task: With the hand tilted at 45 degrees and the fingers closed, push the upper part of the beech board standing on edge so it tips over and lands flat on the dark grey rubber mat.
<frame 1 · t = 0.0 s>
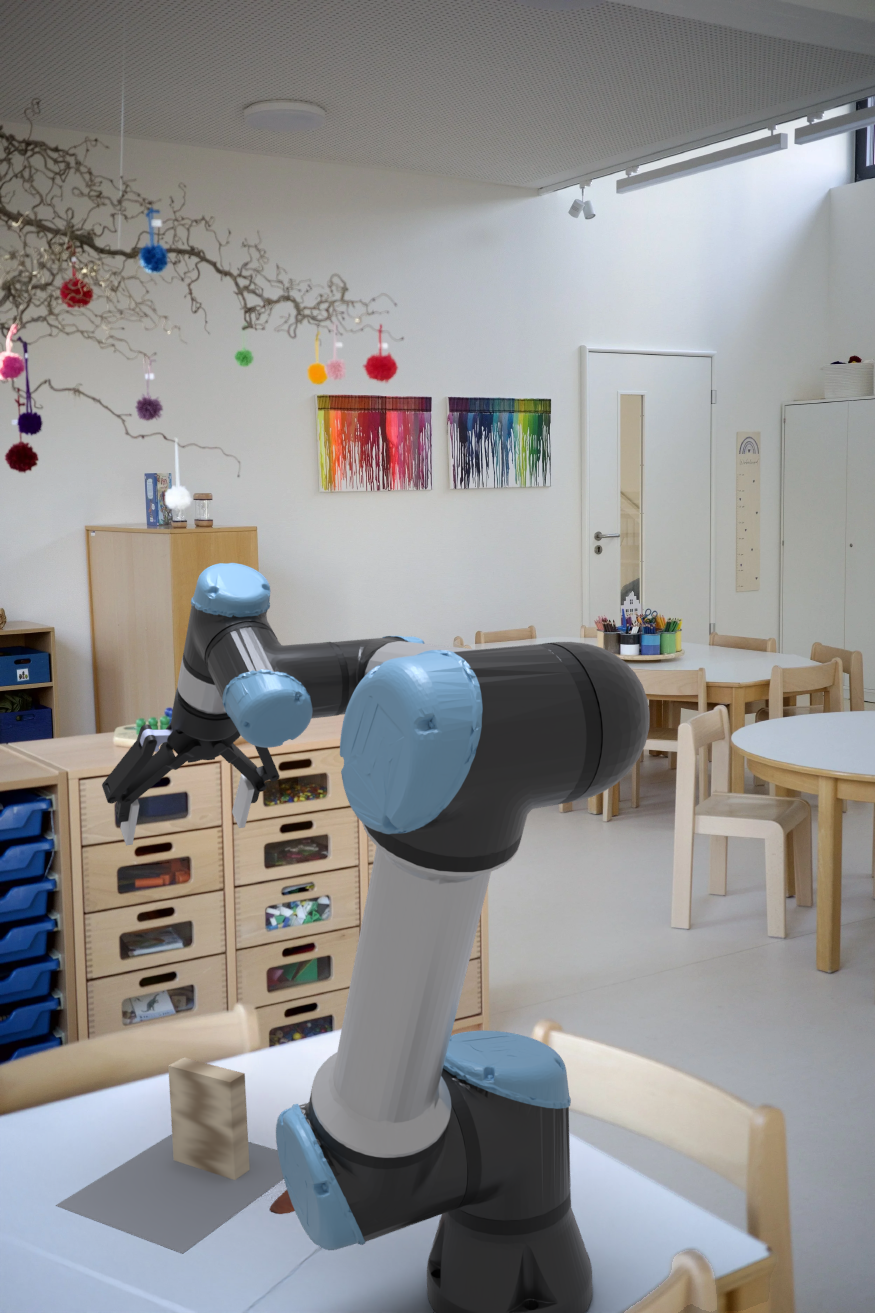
hand: (183, 828, 141), 36 cm above the table, tool tilted 35°, fingers open, 13 cm apart
beech board: (211, 1165, 132), point 1 cm above the table, touching grey mat
wooden tablet: (369, 1173, 132), on the table
grey mat: (186, 1187, 129), on the table
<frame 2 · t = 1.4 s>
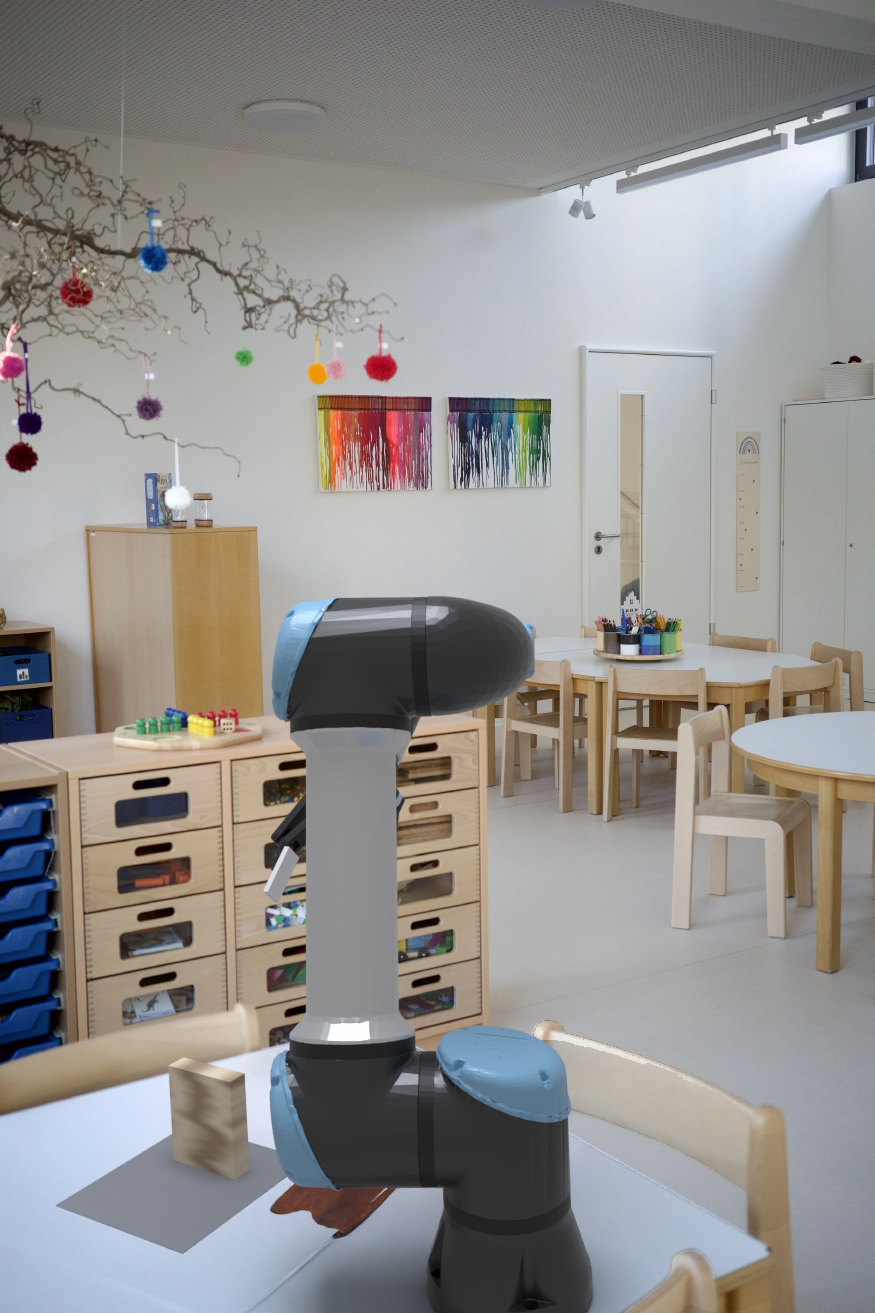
hand: (306, 902, 146), 25 cm above the table, tool tilted 45°, fingers open, 10 cm apart
nothing on the table moved.
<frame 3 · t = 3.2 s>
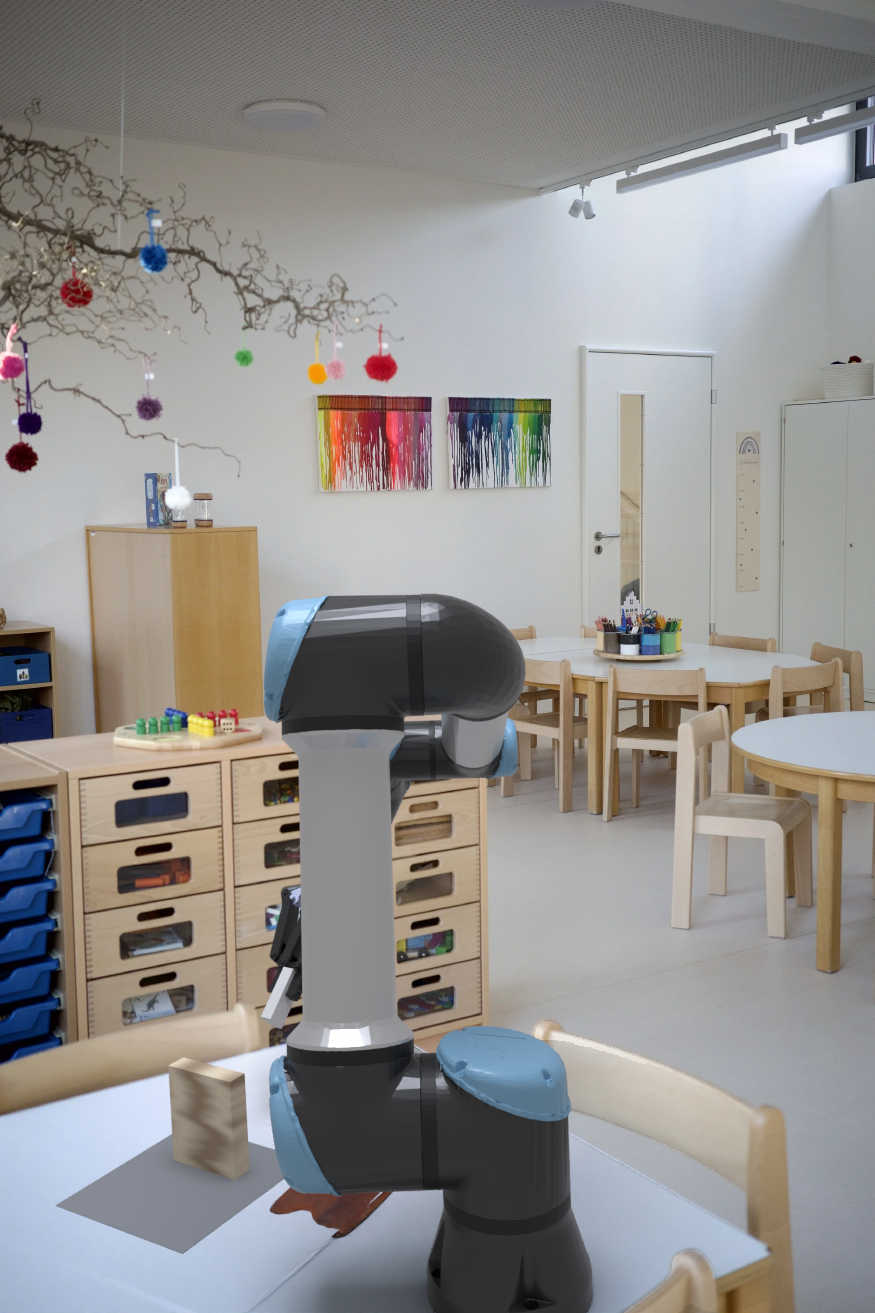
hand: (271, 1022, 142), 12 cm above the table, tool tilted 45°, fingers closed
nothing on the table moved.
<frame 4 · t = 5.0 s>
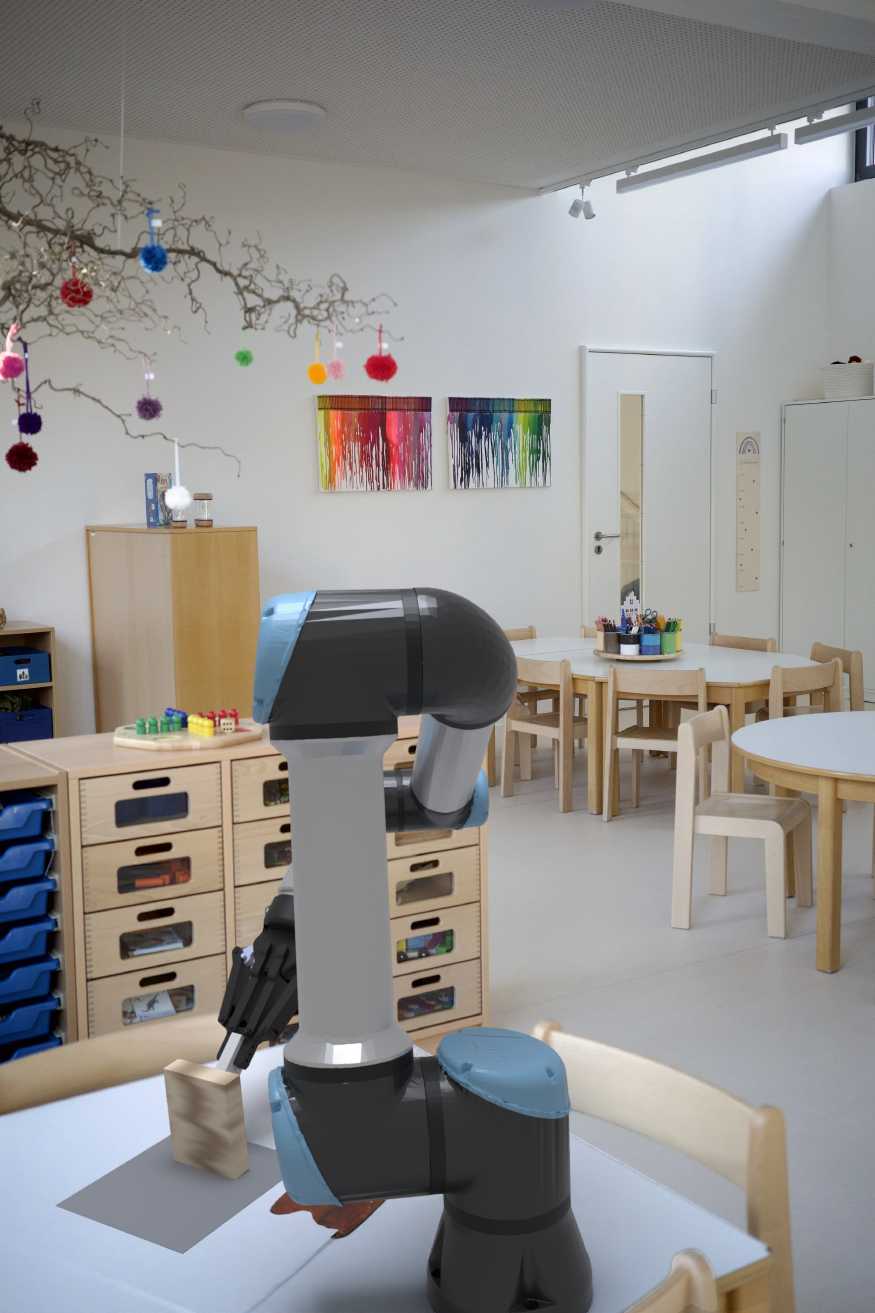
hand: (217, 1093, 134), 8 cm above the table, tool tilted 45°, fingers closed
beech board: (211, 1164, 132), point 1 cm above the table, touching grey mat, gripper
everything else where it was.
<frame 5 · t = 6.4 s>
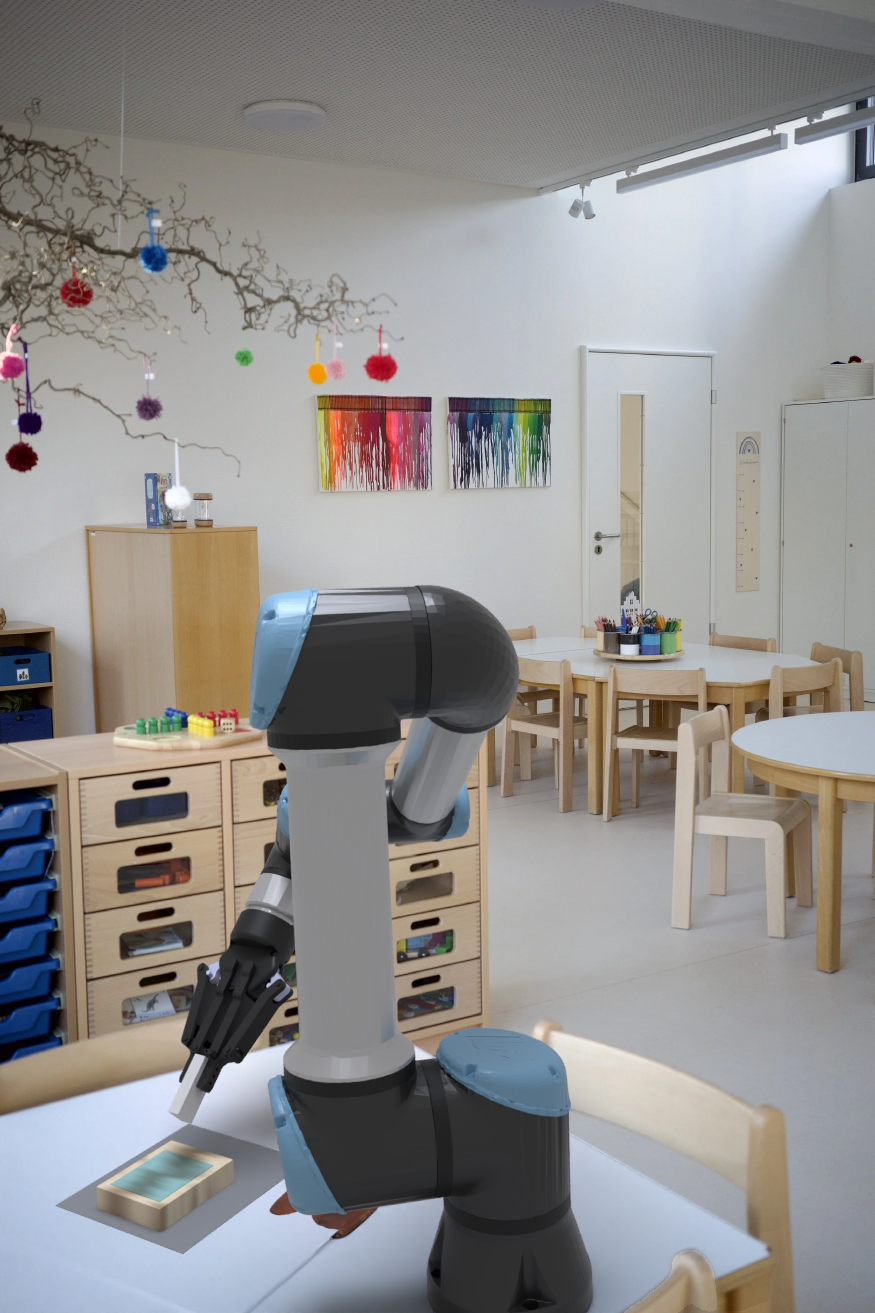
hand: (179, 1117, 128), 8 cm above the table, tool tilted 45°, fingers closed
beech board: (202, 1160, 131), point 2 cm above the table, tilted 90°, touching grey mat
everything else where it was.
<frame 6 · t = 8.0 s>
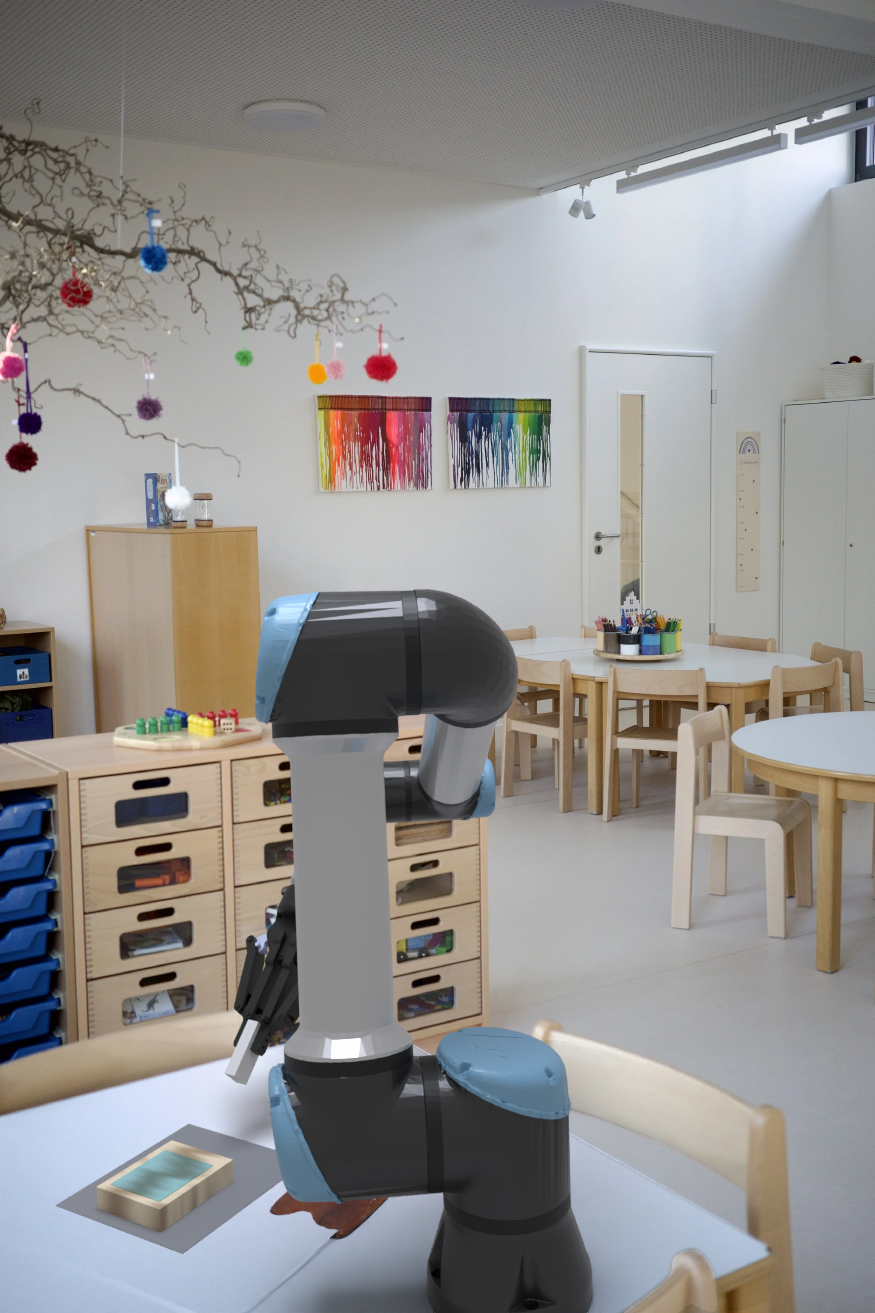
hand: (235, 1079, 136), 8 cm above the table, tool tilted 45°, fingers closed
nothing on the table moved.
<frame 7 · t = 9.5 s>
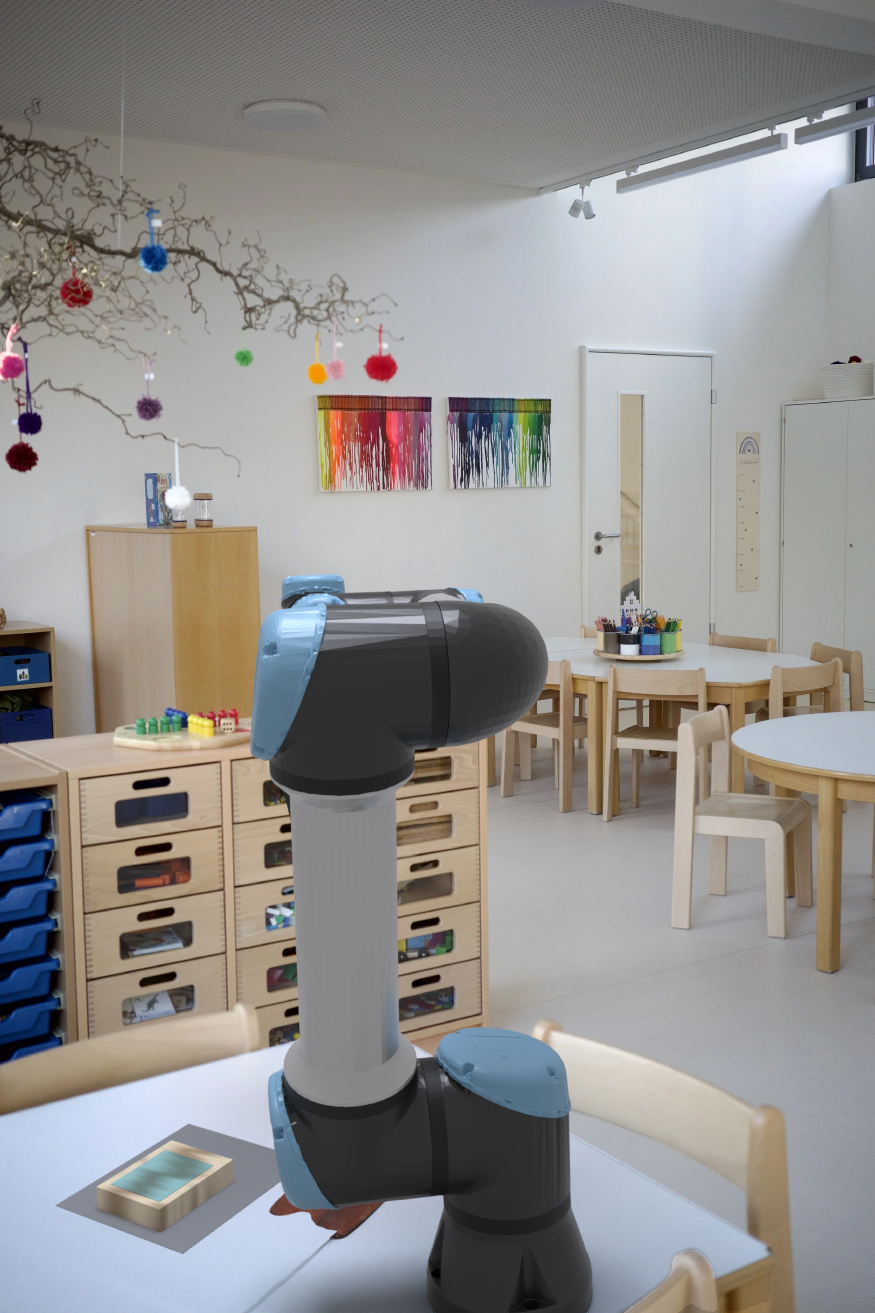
hand: (326, 897, 145), 26 cm above the table, tool pointing down, fingers closed
nothing on the table moved.
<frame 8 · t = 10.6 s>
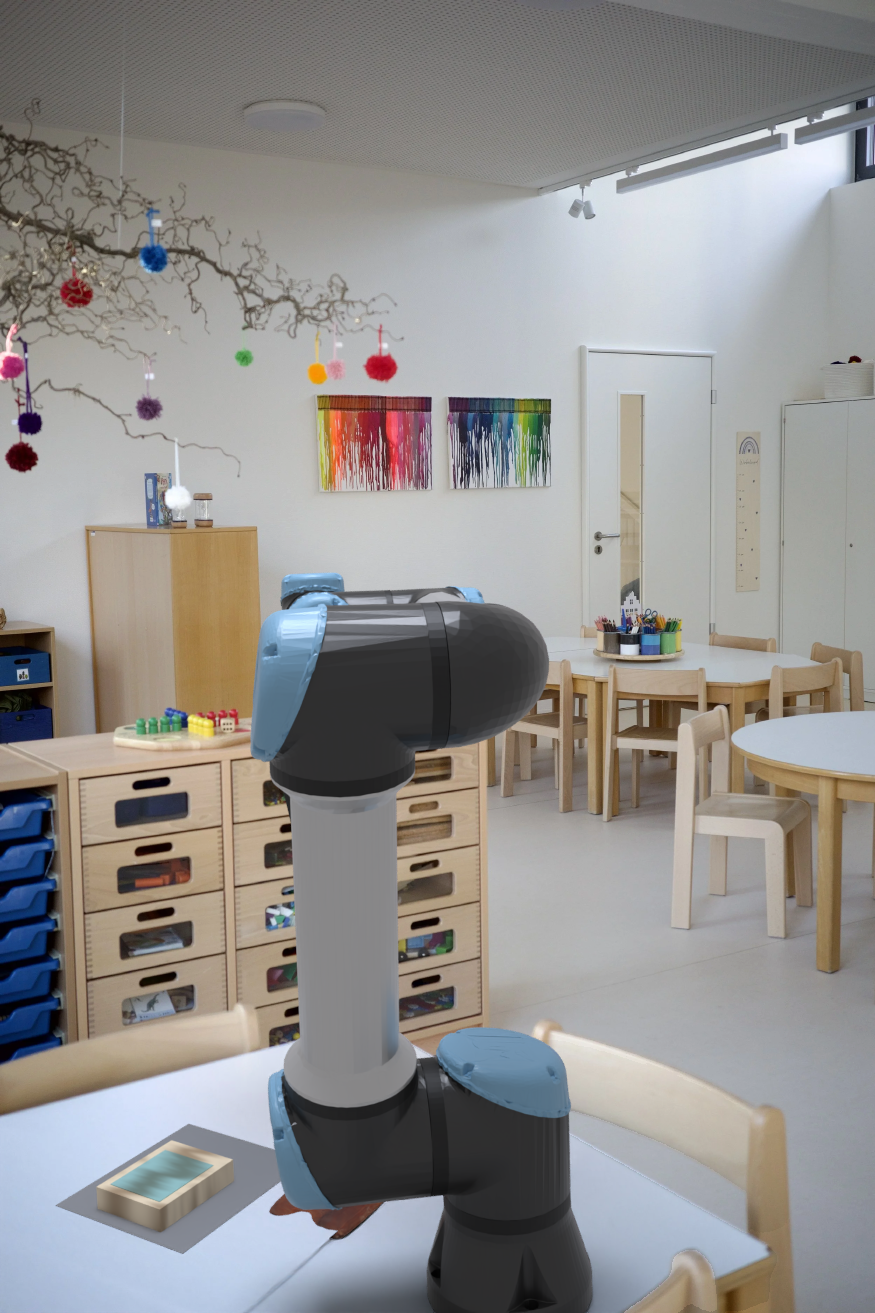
hand: (326, 895, 145), 26 cm above the table, tool pointing down, fingers closed
nothing on the table moved.
at the end: beech board tilted 90°; beech board inside the target area (2.7 cm from its centre), point 1.8 cm above the table; the gripper is holding nothing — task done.
